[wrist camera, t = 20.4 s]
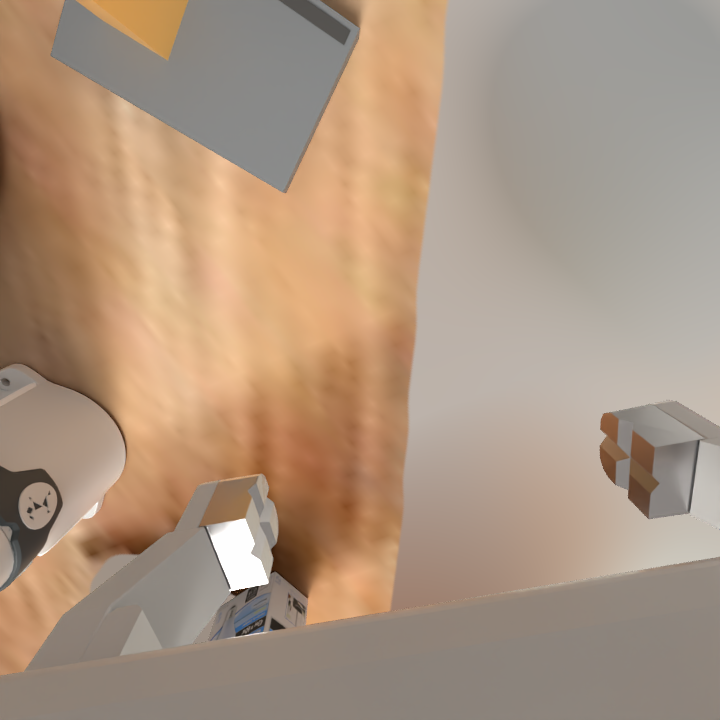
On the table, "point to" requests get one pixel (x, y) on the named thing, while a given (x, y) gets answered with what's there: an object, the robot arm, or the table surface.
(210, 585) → the robot arm
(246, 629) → the light bulb box
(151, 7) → the tall orange brick
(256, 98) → the plate
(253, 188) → the table surface
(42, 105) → the table surface
